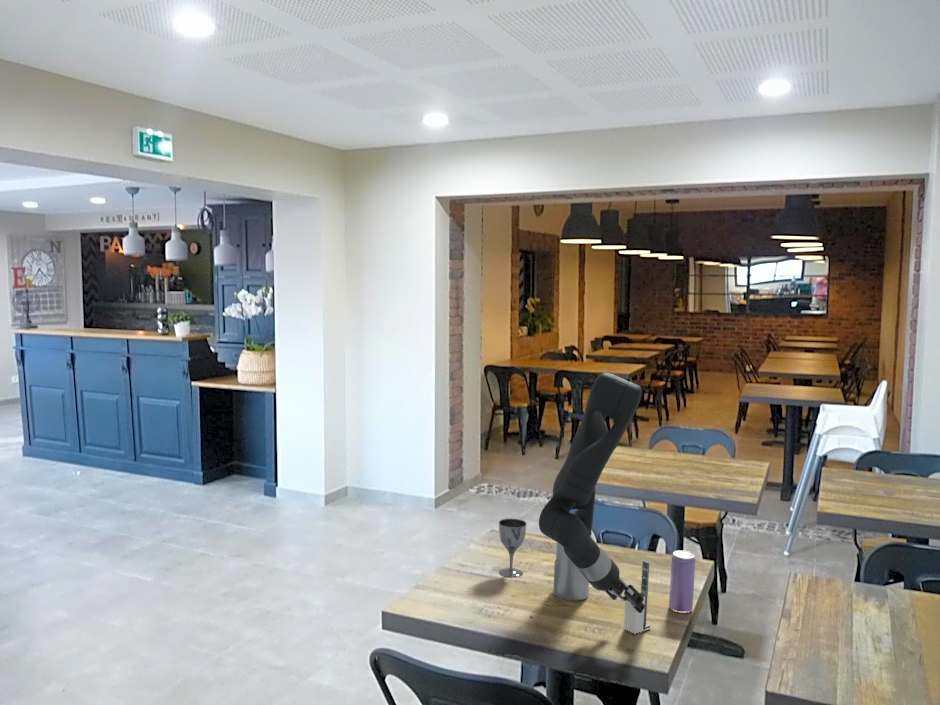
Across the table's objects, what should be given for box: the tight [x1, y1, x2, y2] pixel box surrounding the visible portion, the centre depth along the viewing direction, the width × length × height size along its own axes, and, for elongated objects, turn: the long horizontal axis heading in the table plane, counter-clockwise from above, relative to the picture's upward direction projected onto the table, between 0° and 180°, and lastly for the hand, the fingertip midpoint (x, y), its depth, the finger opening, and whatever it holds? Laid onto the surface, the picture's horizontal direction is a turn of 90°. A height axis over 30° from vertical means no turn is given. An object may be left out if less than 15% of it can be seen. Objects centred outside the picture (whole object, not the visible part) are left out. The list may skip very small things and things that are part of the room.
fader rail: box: [640, 560, 651, 630], centre depth 186 cm, size 2×3×17 cm, turn 34°
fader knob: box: [623, 590, 645, 635], centre depth 185 cm, size 3×4×9 cm
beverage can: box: [668, 550, 696, 611], centre depth 198 cm, size 6×6×15 cm
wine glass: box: [498, 517, 527, 579], centre depth 219 cm, size 8×8×15 cm
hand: (628, 603), depth 183 cm, fingers open, 8 cm apart
